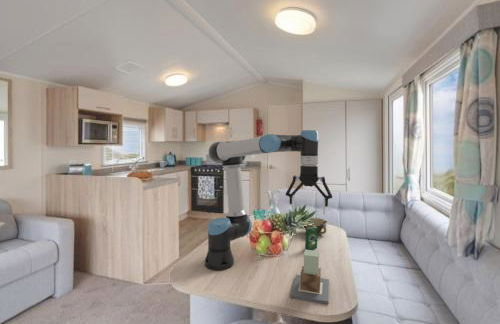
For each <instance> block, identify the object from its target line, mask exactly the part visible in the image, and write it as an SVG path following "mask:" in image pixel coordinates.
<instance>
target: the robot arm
mask: <svg viewBox="0 0 500 324" xmlns="http://www.w3.org/2000/svg"><path fill="white" fill-rule="evenodd" d="M319 141H320V140H319V132H318V131H317V130H316V129H315V130H314V129H306V130H304V129H303V130H301V131H300V134H297V135H295V134H292V135H291V134H274V133H271V134H270V133H269V134H268V133H267V134H264V135H263V136H258V137H253V138H247V139H240V140H236V141H215V142H213V143H212V144H211V145H210V146H209V148H208V156H209V158H210V159H211V160H212V162H214V163H217V164H221V165H222V167H223V168H224V170H225V181H226V195H227V208H228V211H227V213H226V214H225V216H226V217H217V218H214V219H212V220H210V221H209V222H208V225H207V239H208V240H207V247H208V248H207V253H206V256H205V259H204V266H205V267H206V268H207V269H209V270H212V271H224V270H228V269H229V268H232V267H233V266H234V265H235V264H234V262H235V261H234V260H235V259H234V256H233V253H232V250H231V242H232V241H235V240H237V239H240V238H244V237H245V236H247V235H249V234H250V232H251V231H252V227H253V223H252V219H251V218H250V217H249V215H248V214H247V213H248V212H246V211H245V209H244V199H243V197H244V196H243V186H242V185H243V181H242V173H241V171H242V170H241V167H242V166H243V165H244V164H243V163H244V161H245V160H246V157H248V156H254V155H261V154H271V153H279V152H280V153H283V152H300V167H299V168H300V170H299V172H300V174H299V176H298V175H293V176H292V181H291V183H290V184H289V187H288V188H287V191H286V192H285V196H286V197H289V205H291V213H294V212H295V196H294V195H295V194H296V193H297V192H298V191H299V190H300V189H301V188H302V187H303V186H304V187H310V188H311V187H314V188H315V189H317V191H318V192H319V193H320V194H321V196H322V197H323V200H322V215H326V208H327V207H329V199H333V195H332V192H331V190H330V188H329V186H328V183H327V182H326V176H319V175H318V173H319V169H318V164H319ZM296 181H300V183H299V185H297V186H296V188H295V189H294V190H293V191H292V192H291V190H292V189H293V187H294V186H295V183H296ZM318 181H320V182H321V183H322V185H323V187H324V189H325V191H324V190H323V189H322V188H321V187H320V185H319V184H318ZM290 192H291V193H290ZM325 192H326V193H325Z"/></svg>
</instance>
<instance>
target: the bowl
mask: <svg viewBox="0 0 500 324" xmlns="http://www.w3.org/2000/svg"><path fill="white" fill-rule="evenodd" d="M309 220H310V221H313V222H314V224H312V225H307V226H304V227H303V229H304V228H305V229H304V230H305V231H306V228H309V227H314V226H315V227H318V235H324V234H326V233H327V224H328V220H326V219H325V218H321V217H314V216H313V217H312V218H310V219H309ZM322 230H323V231H322Z"/></svg>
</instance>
